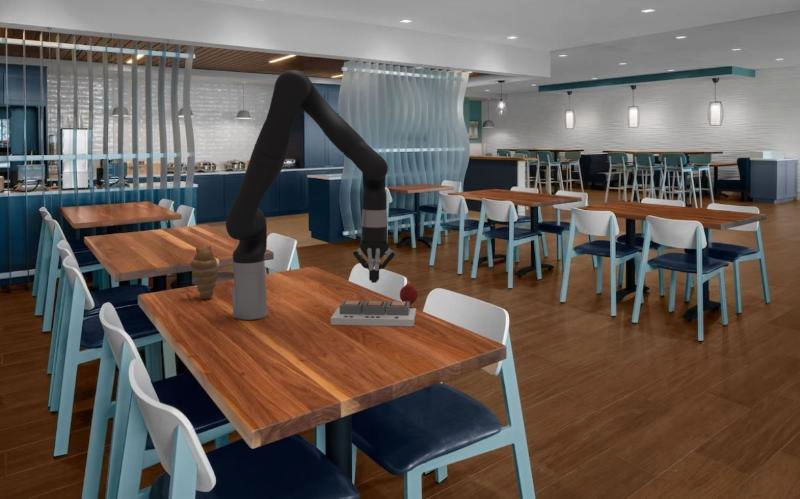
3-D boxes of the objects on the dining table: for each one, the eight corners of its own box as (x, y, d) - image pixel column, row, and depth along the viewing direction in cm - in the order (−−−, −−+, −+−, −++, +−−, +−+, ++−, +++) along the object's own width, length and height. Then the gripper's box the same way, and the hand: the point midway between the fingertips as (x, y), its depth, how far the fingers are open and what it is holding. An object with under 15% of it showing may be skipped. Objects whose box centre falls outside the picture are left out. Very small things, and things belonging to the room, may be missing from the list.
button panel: (330, 324, 174) (330, 309, 174) (338, 313, 186) (338, 299, 185) (413, 326, 172) (413, 311, 172) (416, 314, 184) (416, 300, 183)
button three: (367, 311, 179) (367, 304, 178) (369, 307, 182) (369, 301, 182) (381, 311, 178) (380, 304, 178) (382, 307, 182) (382, 301, 182)
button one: (391, 311, 178) (391, 305, 178) (392, 308, 182) (392, 301, 182) (404, 311, 178) (404, 305, 177) (405, 308, 182) (405, 301, 181)
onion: (415, 308, 191) (415, 284, 189) (398, 307, 192) (398, 283, 191) (419, 304, 196) (419, 280, 195) (401, 303, 198) (401, 279, 196)
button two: (344, 310, 179) (344, 304, 179) (346, 307, 183) (346, 300, 183) (357, 311, 179) (357, 304, 178) (359, 307, 183) (359, 301, 182)
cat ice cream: (212, 294, 210) (209, 243, 207) (224, 298, 205) (221, 246, 202) (189, 299, 204) (185, 246, 201) (200, 303, 198) (197, 249, 195)
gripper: (350, 225, 173) (350, 284, 176) (395, 226, 172) (395, 285, 175) (354, 222, 180) (354, 278, 183) (398, 223, 179) (397, 279, 182)
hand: (374, 282), depth 179 cm, fingers closed
